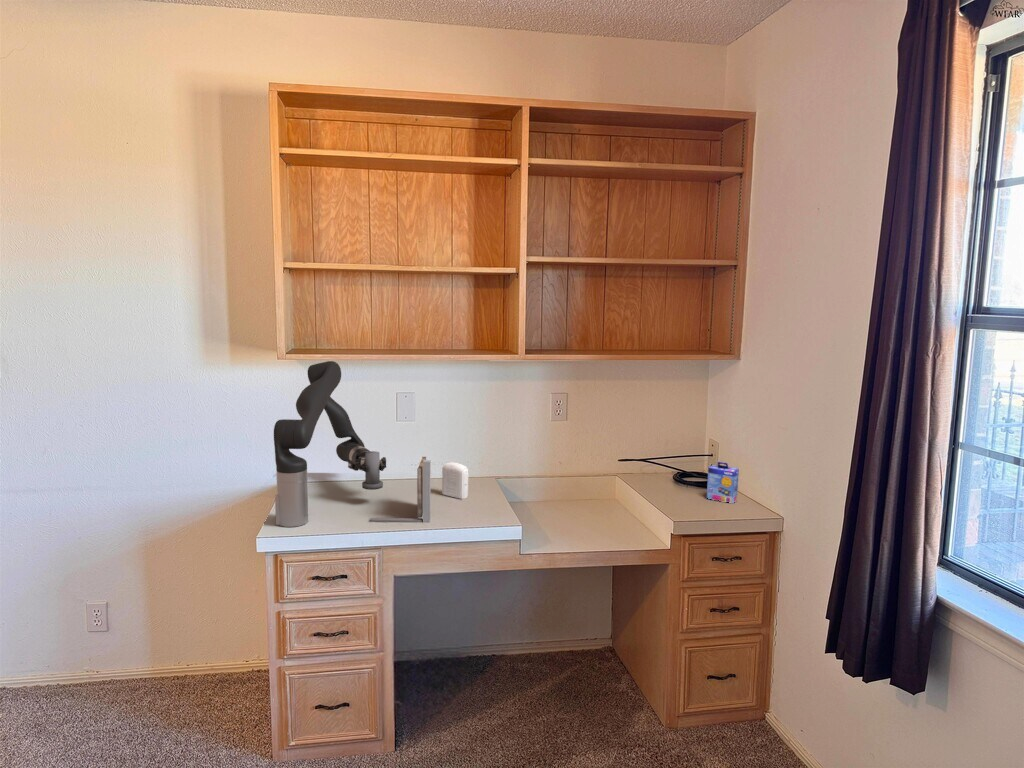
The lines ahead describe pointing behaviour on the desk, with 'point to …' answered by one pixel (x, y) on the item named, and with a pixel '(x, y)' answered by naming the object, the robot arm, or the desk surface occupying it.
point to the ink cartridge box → (722, 483)
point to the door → (420, 488)
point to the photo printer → (455, 480)
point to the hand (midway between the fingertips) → (374, 468)
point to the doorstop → (372, 471)
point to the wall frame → (425, 499)
